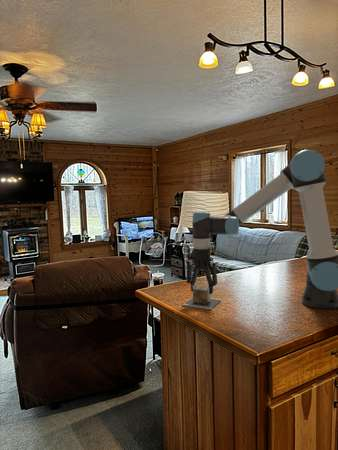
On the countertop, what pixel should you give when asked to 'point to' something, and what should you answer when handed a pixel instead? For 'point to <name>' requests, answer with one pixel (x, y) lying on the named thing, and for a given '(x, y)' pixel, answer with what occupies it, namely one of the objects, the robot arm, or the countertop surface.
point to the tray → (208, 306)
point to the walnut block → (200, 294)
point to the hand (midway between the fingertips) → (202, 299)
